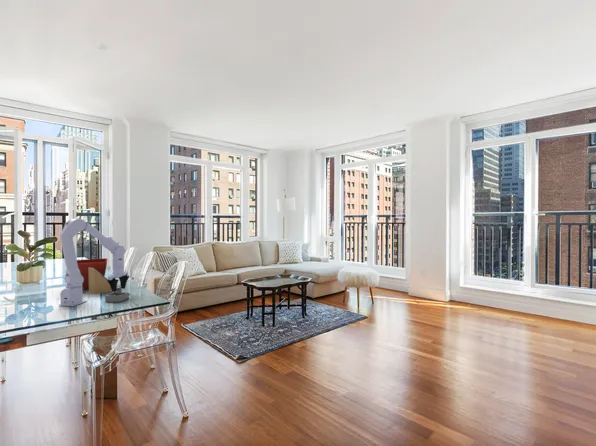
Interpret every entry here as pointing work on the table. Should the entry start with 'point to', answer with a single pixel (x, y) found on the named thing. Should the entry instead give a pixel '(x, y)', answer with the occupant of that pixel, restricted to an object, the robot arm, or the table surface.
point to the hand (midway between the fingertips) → (118, 290)
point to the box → (117, 297)
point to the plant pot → (92, 263)
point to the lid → (120, 290)
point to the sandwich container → (97, 282)
